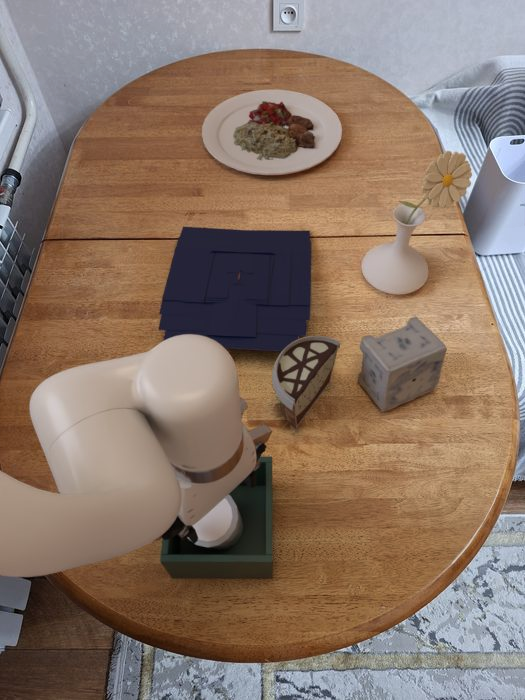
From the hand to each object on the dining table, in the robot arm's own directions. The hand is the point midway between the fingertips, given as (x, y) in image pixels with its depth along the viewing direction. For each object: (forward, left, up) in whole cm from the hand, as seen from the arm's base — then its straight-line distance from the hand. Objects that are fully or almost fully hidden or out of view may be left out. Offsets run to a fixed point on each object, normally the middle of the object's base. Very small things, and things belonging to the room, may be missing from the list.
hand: (217, 504), depth 64 cm
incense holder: (+33, -2, -10) cm, 35 cm away
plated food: (+64, +55, -10) cm, 85 cm away
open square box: (0, 0, -9) cm, 9 cm away
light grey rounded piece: (0, 0, -9) cm, 9 cm away
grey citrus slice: (+21, +7, -10) cm, 24 cm away
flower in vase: (+51, +11, -10) cm, 53 cm away
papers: (+29, +28, -10) cm, 41 cm away
